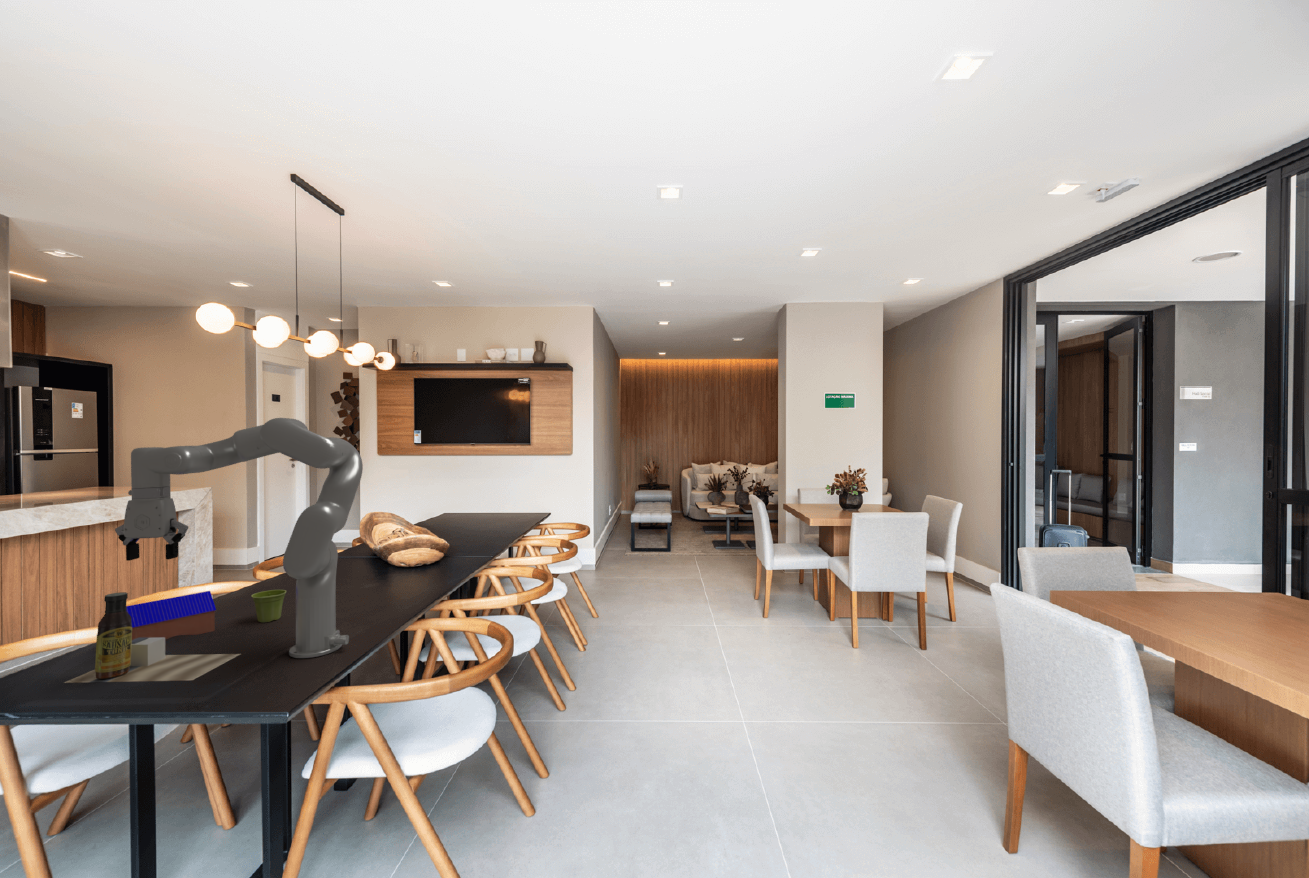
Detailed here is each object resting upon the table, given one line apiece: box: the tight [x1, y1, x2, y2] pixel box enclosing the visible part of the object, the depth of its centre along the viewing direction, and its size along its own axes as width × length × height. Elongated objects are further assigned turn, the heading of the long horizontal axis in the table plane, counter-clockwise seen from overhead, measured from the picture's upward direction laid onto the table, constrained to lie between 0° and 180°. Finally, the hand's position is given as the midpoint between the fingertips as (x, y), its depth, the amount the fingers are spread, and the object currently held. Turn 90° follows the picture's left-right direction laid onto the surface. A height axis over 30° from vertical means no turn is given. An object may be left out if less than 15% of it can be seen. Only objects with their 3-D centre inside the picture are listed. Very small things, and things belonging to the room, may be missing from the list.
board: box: [63, 653, 241, 684], centre depth 137 cm, size 30×16×1 cm, turn 92°
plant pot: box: [251, 589, 287, 623], centre depth 177 cm, size 9×9×9 cm
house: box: [126, 590, 217, 641], centre depth 162 cm, size 12×20×12 cm, turn 144°
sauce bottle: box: [94, 592, 132, 679], centre depth 133 cm, size 7×6×20 cm
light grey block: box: [130, 637, 166, 666], centre depth 140 cm, size 7×5×6 cm
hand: (152, 558), depth 141 cm, fingers open, 9 cm apart
